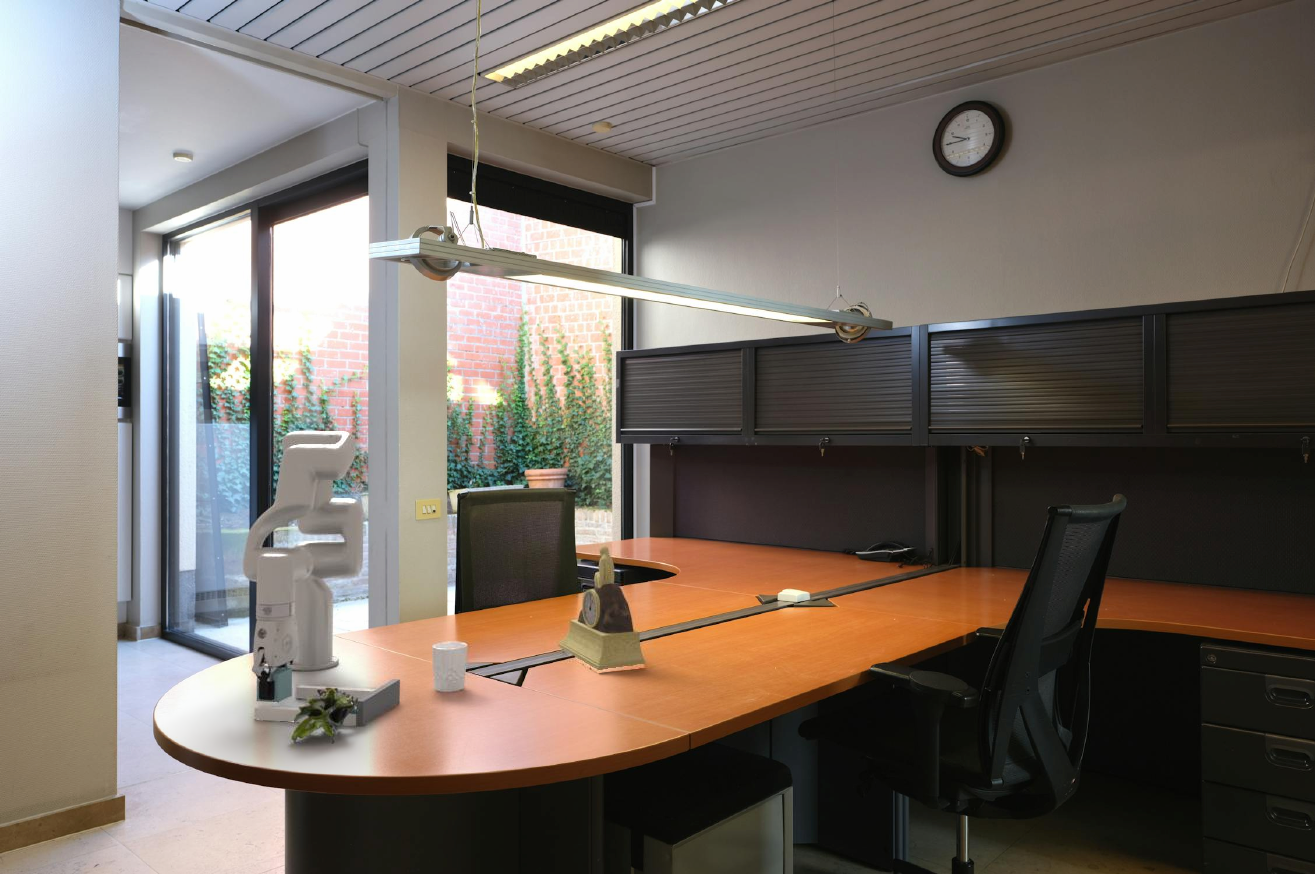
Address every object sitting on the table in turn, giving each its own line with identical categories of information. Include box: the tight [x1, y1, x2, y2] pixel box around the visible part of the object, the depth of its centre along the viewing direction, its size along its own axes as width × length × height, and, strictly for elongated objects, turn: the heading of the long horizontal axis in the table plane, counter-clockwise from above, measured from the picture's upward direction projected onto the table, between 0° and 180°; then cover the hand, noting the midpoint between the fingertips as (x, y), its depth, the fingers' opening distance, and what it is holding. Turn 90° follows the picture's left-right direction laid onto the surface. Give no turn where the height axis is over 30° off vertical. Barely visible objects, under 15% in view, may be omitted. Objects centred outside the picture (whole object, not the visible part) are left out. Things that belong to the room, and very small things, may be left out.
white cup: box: [431, 641, 468, 693], centre depth 205 cm, size 8×8×10 cm
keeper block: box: [256, 667, 293, 703], centre depth 189 cm, size 5×5×6 cm
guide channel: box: [254, 678, 401, 727], centre depth 187 cm, size 24×17×5 cm
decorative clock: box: [557, 545, 646, 670], centre depth 235 cm, size 28×13×30 cm, turn 27°
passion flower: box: [290, 686, 359, 744], centre depth 169 cm, size 11×11×12 cm
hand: (274, 694), depth 189 cm, fingers closed on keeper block, 5 cm apart
